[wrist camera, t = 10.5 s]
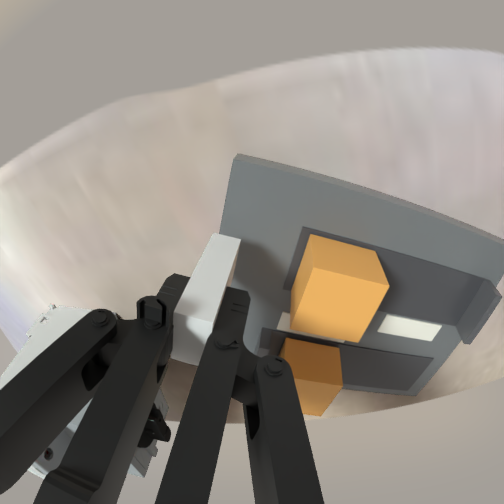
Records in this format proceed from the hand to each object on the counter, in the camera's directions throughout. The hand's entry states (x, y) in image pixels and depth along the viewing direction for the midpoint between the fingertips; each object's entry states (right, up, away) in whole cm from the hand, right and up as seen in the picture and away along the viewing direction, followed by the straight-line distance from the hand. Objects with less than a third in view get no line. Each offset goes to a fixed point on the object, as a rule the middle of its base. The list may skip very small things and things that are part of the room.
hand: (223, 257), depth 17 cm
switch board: (+9, -3, +4) cm, 10 cm away
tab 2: (+5, -8, +5) cm, 11 cm away
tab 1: (+6, -1, +1) cm, 6 cm away
